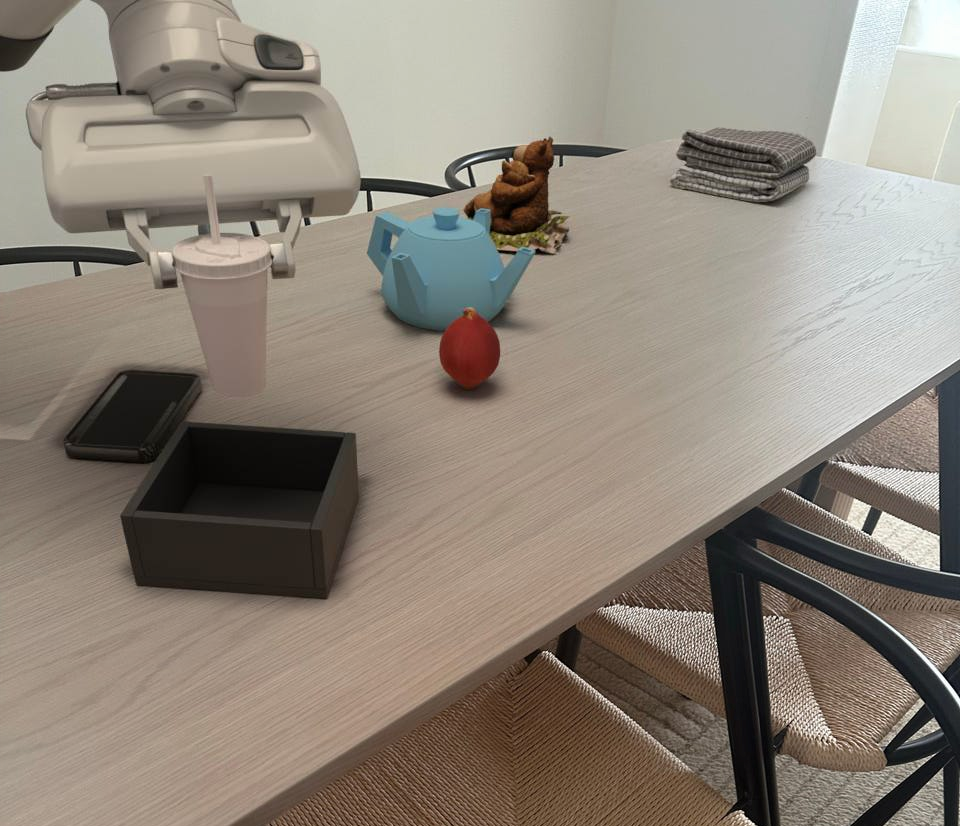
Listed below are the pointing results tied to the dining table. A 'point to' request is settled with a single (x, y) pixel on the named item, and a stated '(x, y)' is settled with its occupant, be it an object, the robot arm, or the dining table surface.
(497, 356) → the onion
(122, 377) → the phone
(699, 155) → the towel
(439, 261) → the teapot
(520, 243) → the bear figurine
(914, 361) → the dining table surface
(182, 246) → the smoothie
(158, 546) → the black tray
